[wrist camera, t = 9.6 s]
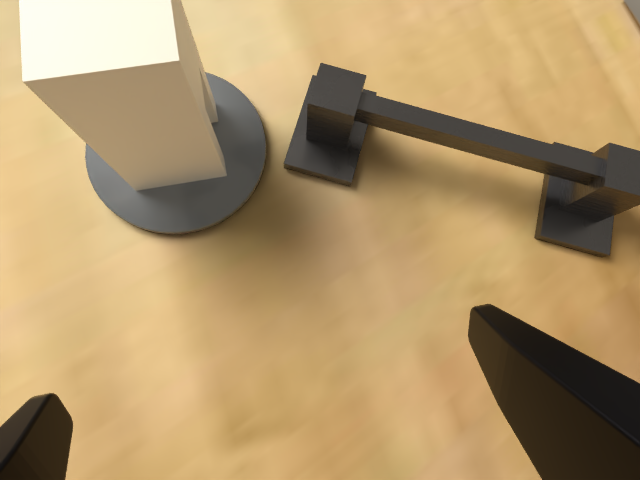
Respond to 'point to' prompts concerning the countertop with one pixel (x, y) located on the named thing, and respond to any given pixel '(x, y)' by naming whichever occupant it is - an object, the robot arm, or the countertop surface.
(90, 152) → the slate coaster
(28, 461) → the robot arm
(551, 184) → the black stand
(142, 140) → the cream link
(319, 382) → the countertop surface
